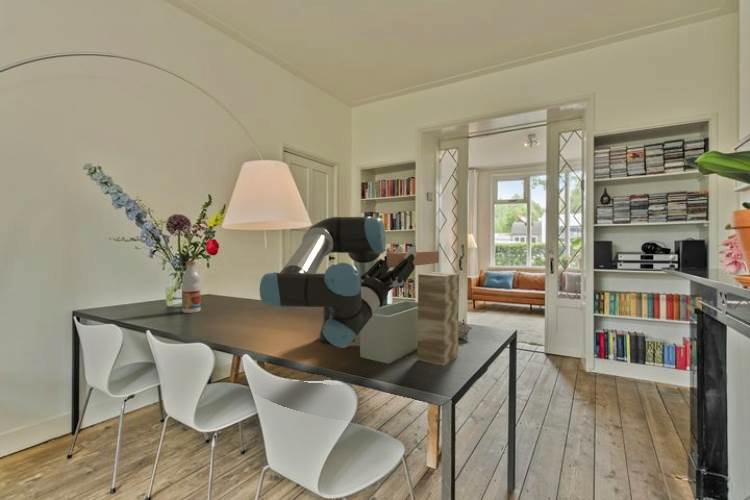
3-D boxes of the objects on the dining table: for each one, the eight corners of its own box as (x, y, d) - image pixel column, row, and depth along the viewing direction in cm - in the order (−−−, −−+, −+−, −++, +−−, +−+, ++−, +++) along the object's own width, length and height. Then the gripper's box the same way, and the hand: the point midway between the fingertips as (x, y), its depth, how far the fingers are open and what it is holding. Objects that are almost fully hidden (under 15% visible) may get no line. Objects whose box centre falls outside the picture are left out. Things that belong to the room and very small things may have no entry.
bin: (388, 363, 123) (388, 316, 122) (360, 356, 130) (360, 312, 129) (429, 342, 148) (430, 303, 147) (404, 337, 155) (404, 300, 154)
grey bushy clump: (464, 348, 153) (472, 333, 147) (444, 340, 154) (452, 324, 148) (467, 333, 160) (475, 318, 154) (449, 325, 161) (456, 310, 155)
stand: (443, 365, 121) (445, 276, 120) (417, 359, 127) (418, 274, 126) (457, 356, 131) (459, 273, 130) (432, 351, 137) (433, 271, 136)
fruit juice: (187, 309, 210) (186, 261, 209) (203, 309, 211) (203, 261, 210) (178, 313, 201) (178, 262, 200) (196, 313, 201) (195, 263, 200)
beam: (398, 267, 101) (398, 253, 101) (386, 266, 103) (386, 252, 103) (438, 262, 122) (438, 251, 122) (428, 262, 125) (428, 250, 125)
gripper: (347, 305, 100) (387, 259, 116) (400, 312, 90) (436, 261, 106) (338, 282, 96) (381, 239, 112) (392, 288, 86) (431, 239, 103)
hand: (408, 250), depth 109 cm, fingers closed on beam, 4 cm apart
